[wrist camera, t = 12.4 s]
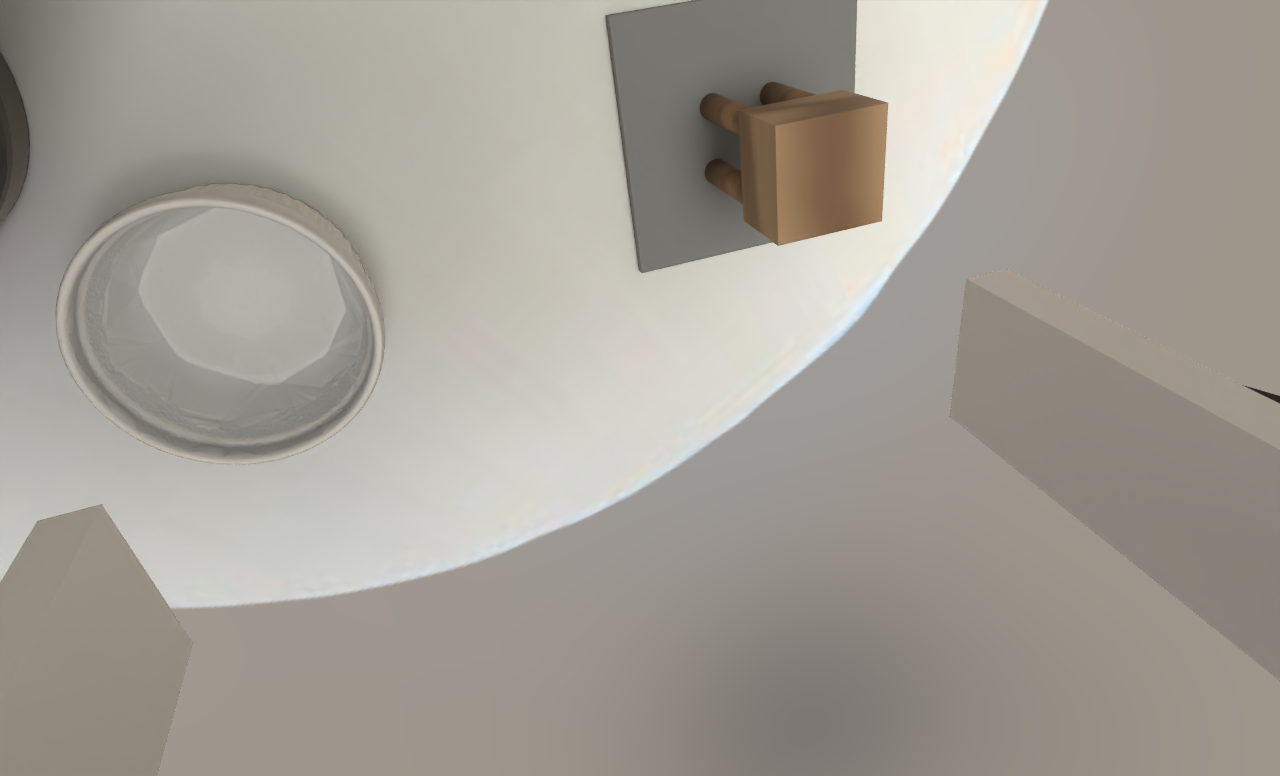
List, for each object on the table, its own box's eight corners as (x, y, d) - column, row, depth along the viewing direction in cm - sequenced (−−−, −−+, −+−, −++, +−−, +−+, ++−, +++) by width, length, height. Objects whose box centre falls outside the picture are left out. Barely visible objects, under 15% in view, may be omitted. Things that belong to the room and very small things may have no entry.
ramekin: (58, 170, 34) (-6, 212, 29) (358, 150, 38) (355, 184, 32) (153, 414, 41) (117, 488, 35) (402, 378, 44) (405, 441, 39)
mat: (639, 269, 45) (641, 273, 45) (605, 15, 38) (608, 15, 37) (845, 220, 48) (850, 223, 47) (851, -26, 41) (857, -26, 40)
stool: (701, 190, 43) (778, 245, 35) (694, 91, 41) (775, 126, 32) (787, 172, 44) (881, 221, 36) (786, 74, 42) (888, 102, 33)
